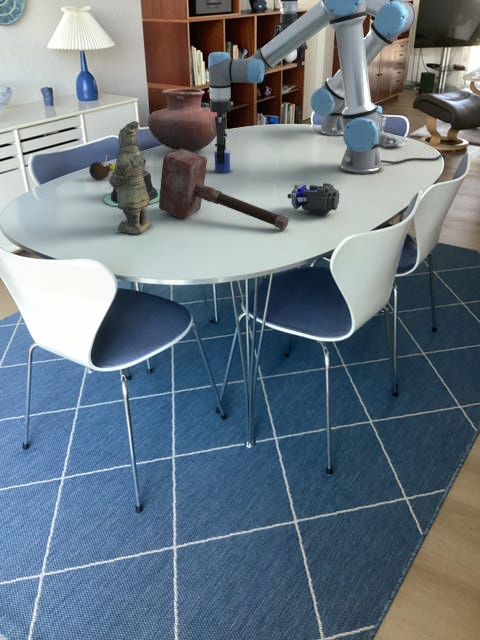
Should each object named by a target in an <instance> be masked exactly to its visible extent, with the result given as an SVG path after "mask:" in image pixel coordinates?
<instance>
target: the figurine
mask: <svg viewBox="0 0 480 640" xmlns="http://www.w3.org/2000/svg"><path fill="white" fill-rule="evenodd" d="M108 158H109V156H108V154H106V155H105V158H104V161H102V162H101V161H94V162H92V163H90V165H89V168H88V170H89V171H88V172H89V175H90V177H91V178H93V179H94V180H98V181H99V180H103V179H106V178H107V177H109V175H110V172H114V170H115V164H116V163H108ZM146 162H147V161H146V159H145V158H144V166H143V168H145V166H146Z"/></svg>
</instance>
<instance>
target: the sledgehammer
mask: <svg viewBox="0 0 480 640" xmlns="http://www.w3.org/2000/svg"><path fill="white" fill-rule="evenodd" d="M207 164H208V159H207V158H206V157H205V156H203V155H200V154H197V153H195V152H190V151H187V150H184V149H179V150H174V151H172V152H169V153H167V154H165V155H164V156H163V158H162V167H161V176H160V187H159V190H160V198H159V200H158V208H159V210H160V211H162V212H165V213H168V214H170V215H173V216H174V217H177V218H180V219H182V220H185V219H187V218H188V217H190V216H192V215H193V214H195V213H197V212H198V211H199V210H200V209H201V207H202V201H203V200H204V201H207V202H209V203H213V204H215V205H220V206H223V207H225V208H228V209H231V210H233V211H236V212H239V213H241V214H243V215H245V216H248V217H252V218H255V219H257V220H260V221H262V222H264V223H267V224H270V225H273V226H274V228H276V229H280V230H282V231H285V230H286V228H287V227H288V224H289V221H290V218H289V217H288V216H286V215H283V214H281V213H279V214H277V213H275V212H273V211H269V210H267V209H265V208H262V207H259V206H256V205H254V204H251V203H248V202H246V201H244V200H242V199H238V198H236V197H233V196H231V195H228V194H225V193H223V192H222V191H220V190H218V189H215V188H214V187H211V186H208V185H205V181H206V175H207Z"/></svg>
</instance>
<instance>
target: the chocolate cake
mask: <svg viewBox="0 0 480 640" xmlns="http://www.w3.org/2000/svg"><path fill="white" fill-rule="evenodd" d="M113 175H114V171H112V173H111V176H113ZM143 178H144V182H145V184H146V188H147V192H148V195H149V197H150V204H154V203H157V202H159V198H160V188H156V187H154V185H153V182H152V174H151V172H149V171H148V170H146V169H144V168H143ZM103 200H104V202H105V203H106V204H108V205H109V206H115V207H118V202H117V192H116V189H115V188H114V187H112V191H111V193H108V194H107V195H106V196H104V198H103ZM150 204H149V205H150Z"/></svg>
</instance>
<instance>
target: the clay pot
mask: <svg viewBox="0 0 480 640" xmlns="http://www.w3.org/2000/svg"><path fill="white" fill-rule="evenodd" d="M205 92H206V91H204V90H202V89H199V88H193V87H191V88H189V87H187V88H172V89H163V90H162V92H161V93H162V94H163V95H165V97H166V99H167V105H166V107H165V108H163V109H159V110H155V111H153V112H151V113H150V114H149V116H148V117H147V119H148V120H147V127H148V129H149V131H150V133H151V135H152V136H153V137H154V138H155V139H156V140H157V142H159V143H160V144H161V145H163V146H165V147H166V148H169V149H171V150H174V151H177V150H179V149H184V150H187V151H190V152H192V153H194V152H197V151H201V150H202V149H204V148H206V147H207V146H209V145H210V144H211V143H212V142H213V141H214V139H215V138H217V129H216V123H215V116H217V113H216V112H215V113H214V112H211V111H210V107H202V99H203V96H204V94H205Z"/></svg>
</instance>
